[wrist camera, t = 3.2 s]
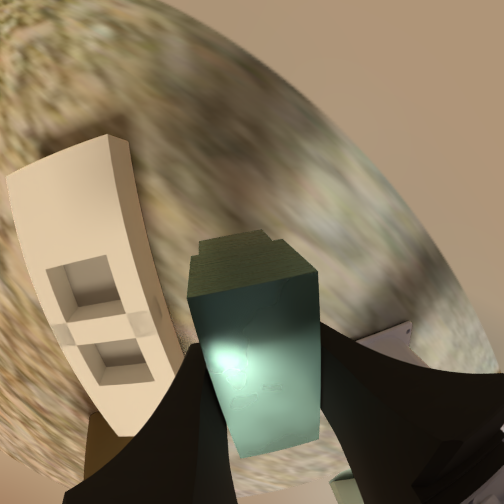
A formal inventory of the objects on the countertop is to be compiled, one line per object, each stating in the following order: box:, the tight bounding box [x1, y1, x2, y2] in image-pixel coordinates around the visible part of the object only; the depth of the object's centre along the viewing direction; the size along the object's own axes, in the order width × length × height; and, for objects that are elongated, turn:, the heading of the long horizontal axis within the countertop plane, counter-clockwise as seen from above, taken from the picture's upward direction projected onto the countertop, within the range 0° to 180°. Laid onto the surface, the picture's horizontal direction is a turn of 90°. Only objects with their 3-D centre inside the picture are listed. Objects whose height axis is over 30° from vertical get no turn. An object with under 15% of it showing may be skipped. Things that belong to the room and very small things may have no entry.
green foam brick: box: [187, 230, 321, 458], centre depth 10 cm, size 7×3×6 cm, turn 9°
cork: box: [84, 412, 134, 480], centre depth 16 cm, size 6×6×11 cm
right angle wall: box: [329, 468, 364, 504], centre depth 29 cm, size 12×12×8 cm
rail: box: [6, 134, 184, 436], centre depth 16 cm, size 20×7×4 cm, turn 9°
